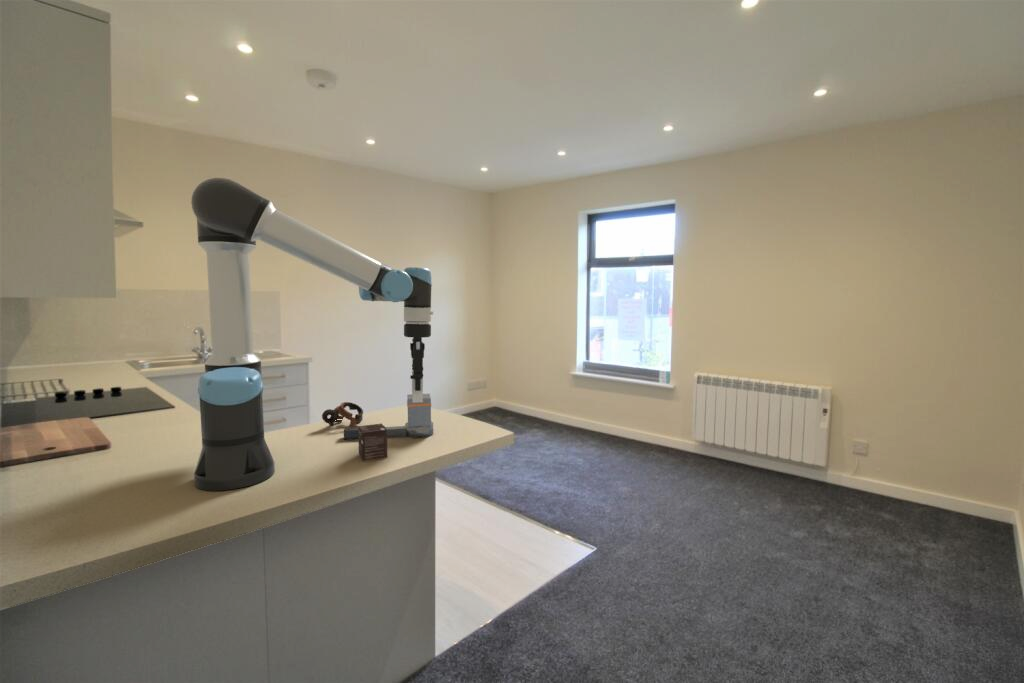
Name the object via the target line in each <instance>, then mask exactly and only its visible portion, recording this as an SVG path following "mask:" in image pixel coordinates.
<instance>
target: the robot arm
mask: <svg viewBox="0 0 1024 683" xmlns="http://www.w3.org/2000/svg"><path fill="white" fill-rule="evenodd" d="M191 195H192V196H191V199H190V200H191V201H190V202H191V203H190V204H191V209H192V212H193V214H194V215H195V217H196V229H197V230H196V231H197V244H198V245H199V247H201V249H203V251H205V252H206V265H207V266H206V267H207V268H206V269H207V286H208V302H209V304H208V305H209V306H208V307H209V321H210V322H209V323H210V338H211V339H210V340H211V341H210V342H211V343H210V344H211V345H210V346H211V356H210V357H208V358H207V360H205V362H204V373H203V374H202V375H201V376H200V378H199V380H198V386H197V394H198V396H199V409H200V411H199V412H200V414H199V415H200V427H201V428H200V431H201V445H202V446H201V451H200V454H199V457H198V460H197V463H196V467H195V470H194V474H193V478H194V479H193V481H194V486H195V487H196V488H197V489H198V490H204V491H212V492H213V491H214V492H215V491H216V492H217V491H227V490H230V491H231V490H235V489H241V488H246V487H248V486H253V485H255V484H259V483H261V482H263V481H266V480H268V479H270V478H271V477H272V476H273V475H274V474H275V472H276V470H275V469H276V468H275V461H274V458H273V455H272V453H271V451H270V449H269V446H268V444H267V442H266V441H267V440H266V439H265V423H264V422H265V421H264V405H263V404H264V402H263V400H264V399H263V393H264V392H263V391H264V385H263V384H264V382H263V379H262V378H263V376H262V375H263V374H262V359H261V358H260V357H258V355H256V354H255V353H254V336H253V335H254V334H253V333H254V332H253V312H252V292H251V291H252V289H251V270H250V269H251V268H250V254H251V252H253V250H255V249H256V247H257V244H256V242H257V241H260V242H263V243H265V244H268V245H269V246H271V247H273V248H276V249H277V250H280V251H282V252H285V253H286V254H288V255H291V256H293V257H296V258H298V259H299V260H300V261H301V260H302V261H303V262H306V263H308V264H310V265H312V266H314V267H317V268H319V269H321V270H323V271H325V272H328V273H330V274H332V275H334V276H336V277H338V278H340V279H343V280H344V281H347V282H349V283H351V284H353V285H355V286H357V287H358V294H359V297H360V299H361V300H362V301H367V302H368V301H369V302H391V303H399V302H400V303H401V302H403V321H404V322H405V324H403V335H404V337H405V338H412V339H411V341H412V342H410V343H409V344H410V345H409V347H410V357H411V359H412V361H411V369H412V371H411V375H410V379H411V393H412V394H413V402H423V394H424V379H423V378H424V374H423V373H424V363H423V360H424V357H425V348H426V347H425V342H423V341H422V340H423V338H430V337H431V336H432V325H431V323H430V322H431V321H432V316H433V315H434V311H432V286H433V282H432V271H431V270H430V269H429V268H427V267H405V268H404V270H401V269H393V267H390V266H388V265H386V264H383V263H381V262H380V261H378V260H376V259H374V258H372V257H370V256H368V255H367V254H364V253H363V252H361V251H358V250H357V249H354V248H353V247H350V246H349V245H347V244H345V243H342V242H341V241H339V240H337V239H335V238H333V237H331V236H329V235H327V234H325V233H323V232H321V231H319V230H318V229H315V228H313V227H311V226H310V225H308V224H305V223H304V222H301V221H299V220H297V219H296V218H294V217H292V216H289V215H288V214H286V213H285V212H282V211H280V210H278V209H276V208H275V207H274V205H273V202H272V201H271V200H269V199H267V198H265V197H263V196H261V195H259V194H258V193H256V192H255V191H252V190H250V189H249V188H247V187H245V186H244V185H242V184H241V183H238V182H236V181H234V180H233V179H228V178H226V177H225V178H223V177H212V178H209V179H206V180H204V181H203V180H202V182H200V183H199V184H198V185H197V186H196V188H194V190H193V192H192V194H191Z"/></svg>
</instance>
